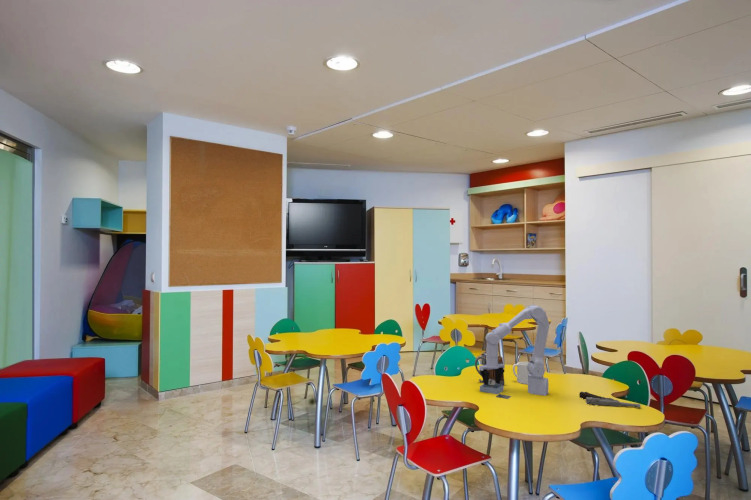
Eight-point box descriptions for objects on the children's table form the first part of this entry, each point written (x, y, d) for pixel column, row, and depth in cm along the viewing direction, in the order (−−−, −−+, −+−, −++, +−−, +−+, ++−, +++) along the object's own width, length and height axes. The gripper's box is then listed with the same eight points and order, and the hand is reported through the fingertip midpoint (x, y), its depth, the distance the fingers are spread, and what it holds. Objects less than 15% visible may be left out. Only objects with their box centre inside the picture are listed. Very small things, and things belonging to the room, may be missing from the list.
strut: (492, 390, 232) (492, 378, 232) (497, 392, 228) (497, 380, 228) (486, 390, 230) (486, 378, 230) (491, 392, 227) (491, 380, 227)
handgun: (631, 402, 221) (641, 411, 207) (578, 397, 227) (584, 405, 212) (631, 395, 221) (641, 403, 207) (578, 390, 227) (584, 398, 212)
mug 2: (533, 380, 257) (533, 362, 257) (538, 385, 247) (538, 365, 247) (510, 379, 257) (510, 361, 258) (515, 384, 247) (515, 365, 248)
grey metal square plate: (511, 398, 220) (511, 396, 220) (508, 401, 215) (508, 399, 215) (499, 396, 223) (499, 394, 223) (495, 399, 218) (495, 396, 218)
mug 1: (502, 382, 250) (502, 355, 250) (506, 387, 239) (506, 359, 240) (473, 381, 251) (474, 354, 252) (475, 386, 241) (476, 357, 241)
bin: (503, 392, 231) (503, 385, 231) (498, 396, 223) (498, 389, 223) (485, 389, 236) (485, 382, 236) (479, 393, 228) (479, 386, 228)
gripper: (485, 359, 223) (485, 387, 223) (508, 357, 230) (508, 384, 229) (476, 356, 230) (476, 383, 229) (499, 354, 236) (499, 381, 235)
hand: (491, 383), depth 229 cm, fingers open, 7 cm apart
